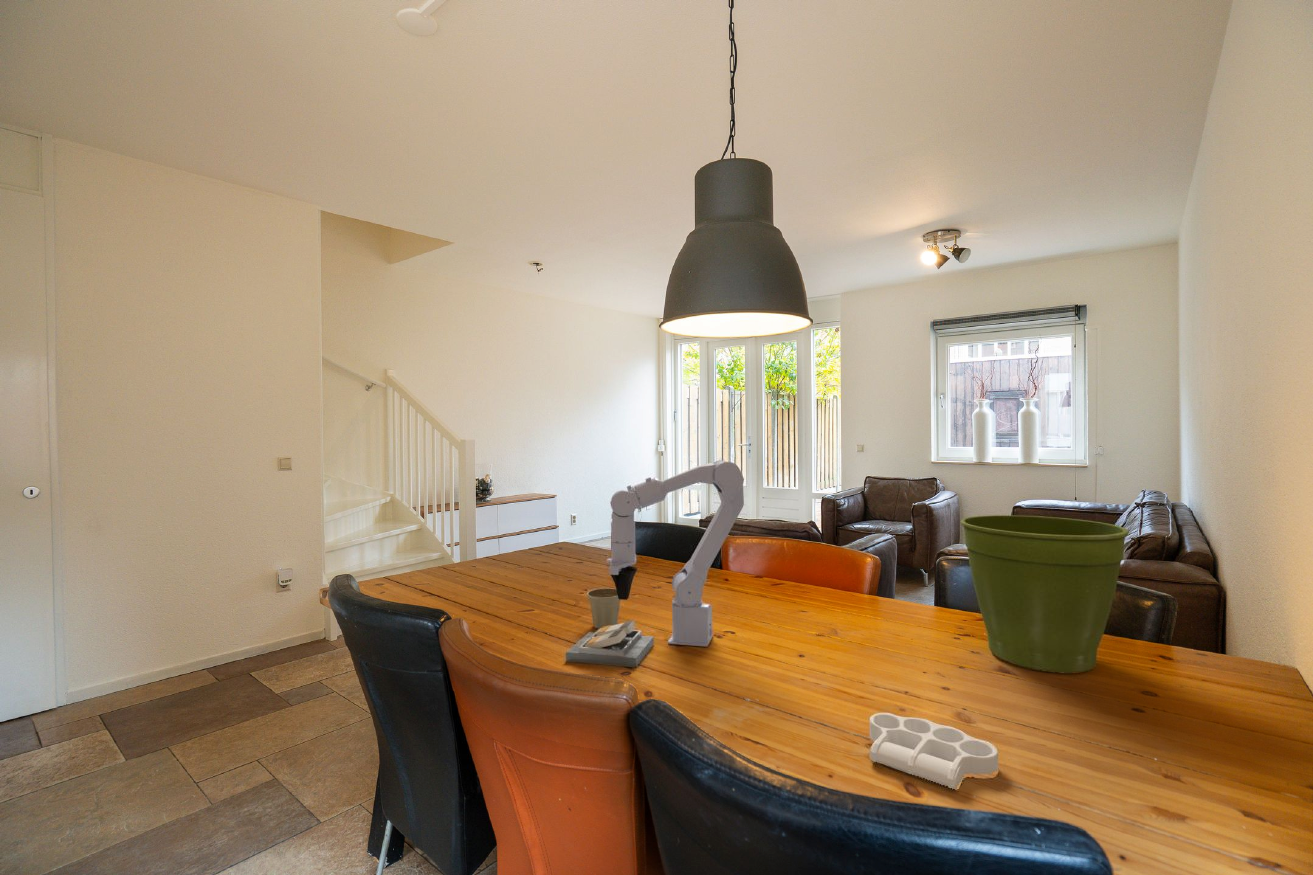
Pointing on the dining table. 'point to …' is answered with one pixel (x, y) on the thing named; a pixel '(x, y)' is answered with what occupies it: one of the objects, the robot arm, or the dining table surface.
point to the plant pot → (1044, 586)
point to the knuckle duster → (929, 749)
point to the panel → (612, 650)
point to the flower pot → (604, 606)
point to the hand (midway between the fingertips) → (623, 598)
